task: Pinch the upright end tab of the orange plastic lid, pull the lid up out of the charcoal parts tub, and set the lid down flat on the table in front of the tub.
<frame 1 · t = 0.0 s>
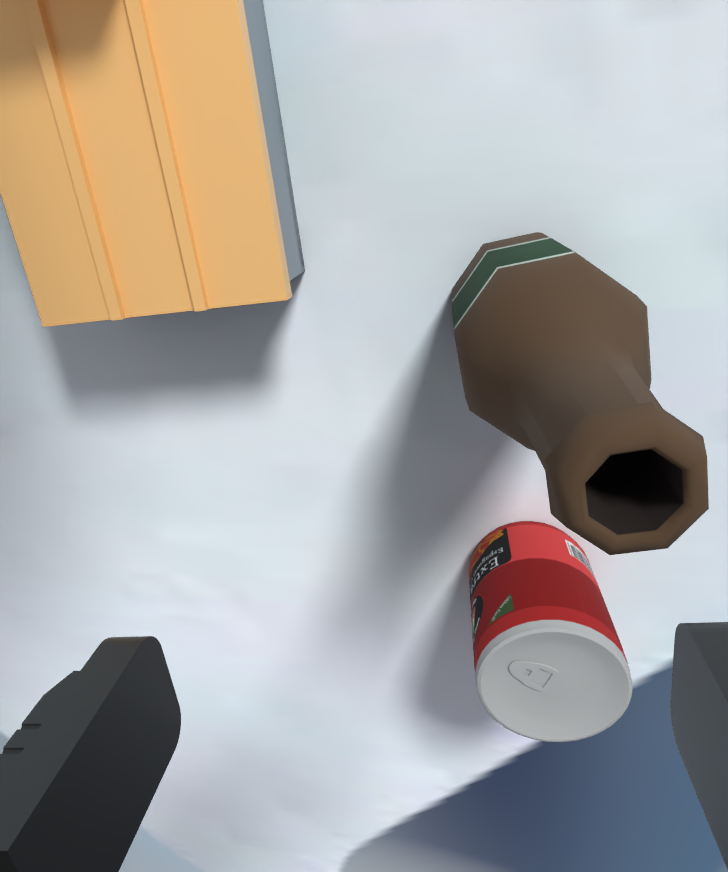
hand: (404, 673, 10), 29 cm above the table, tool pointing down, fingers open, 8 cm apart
lid: (139, 129, 31), point 4 cm above the table, touching tub
tub: (175, 134, 35), on the table
canned food: (526, 565, 43), on the table
beer bottle: (517, 299, 36), on the table
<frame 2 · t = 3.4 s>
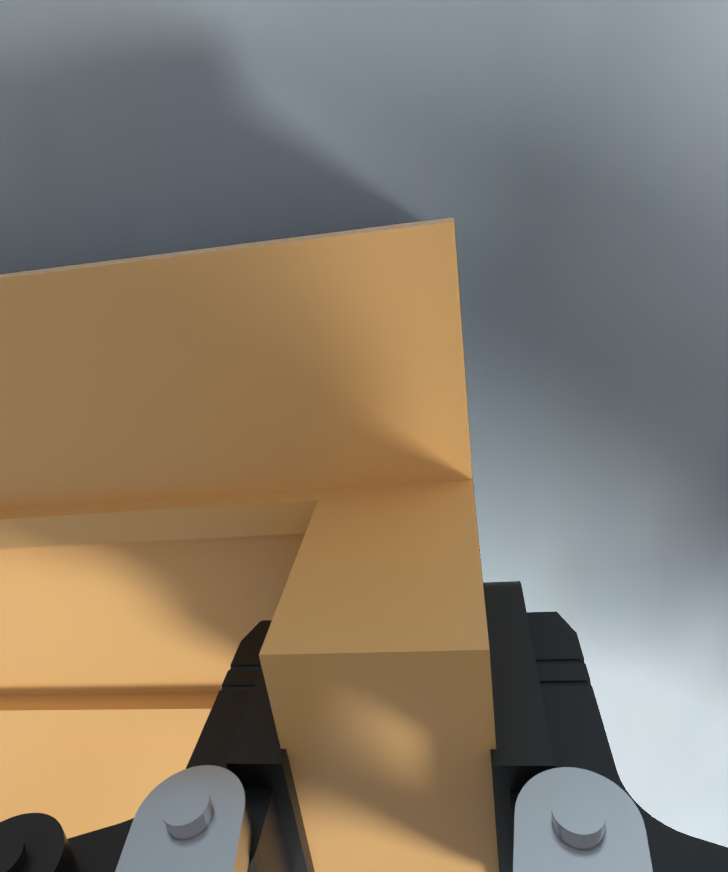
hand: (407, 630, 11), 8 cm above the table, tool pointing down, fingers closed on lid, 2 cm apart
lid: (106, 551, 15), point 4 cm above the table, touching gripper, tub
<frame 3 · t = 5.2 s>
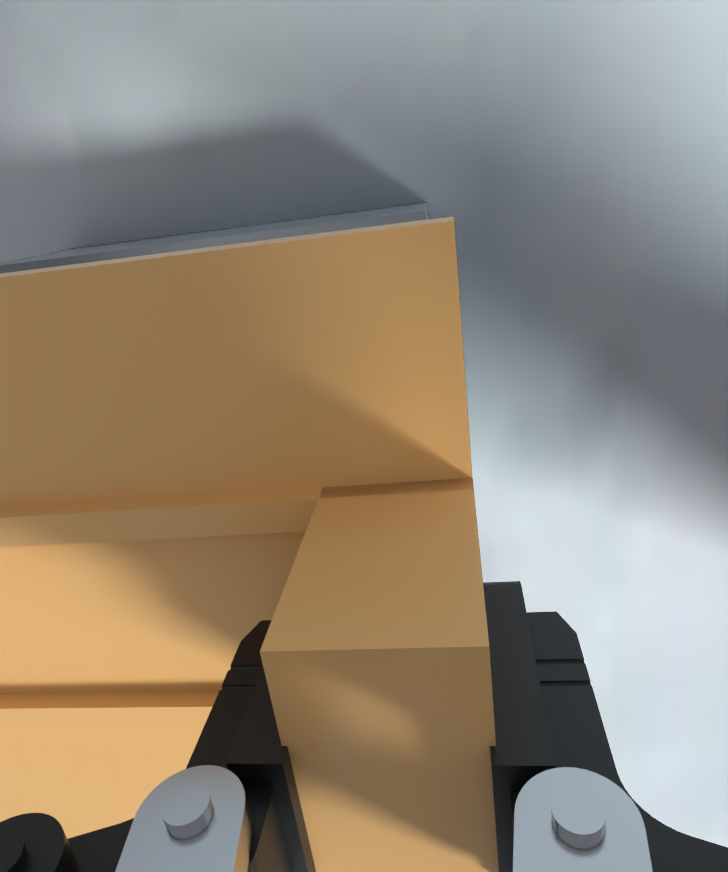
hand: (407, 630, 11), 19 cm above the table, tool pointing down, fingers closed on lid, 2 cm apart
lid: (107, 550, 15), point 16 cm above the table, touching gripper
tub: (266, 360, 29), on the table
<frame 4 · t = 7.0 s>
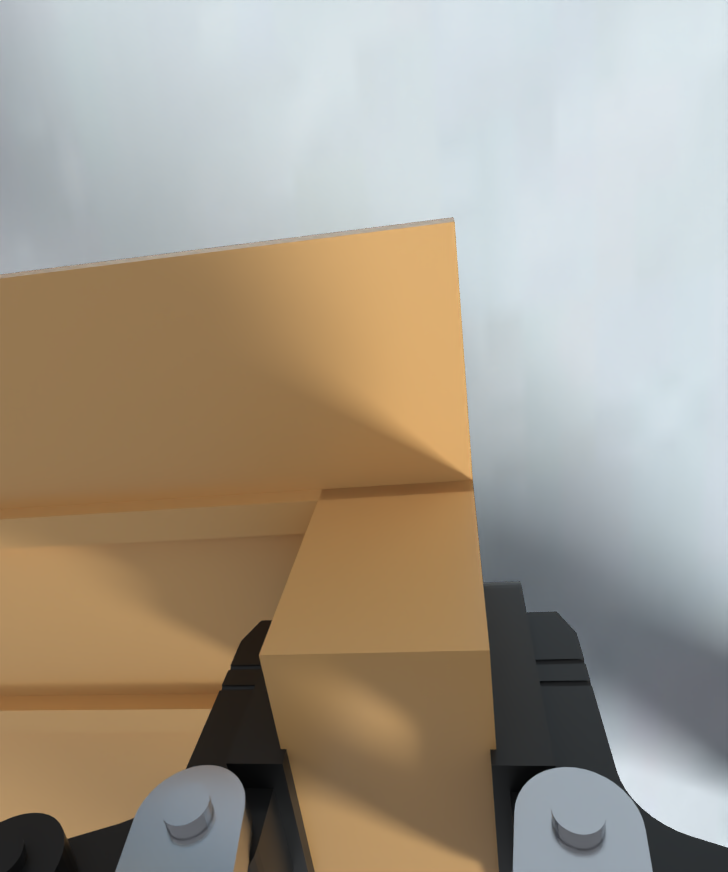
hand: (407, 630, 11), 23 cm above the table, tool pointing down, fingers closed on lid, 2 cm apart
lid: (106, 551, 15), point 20 cm above the table, touching gripper
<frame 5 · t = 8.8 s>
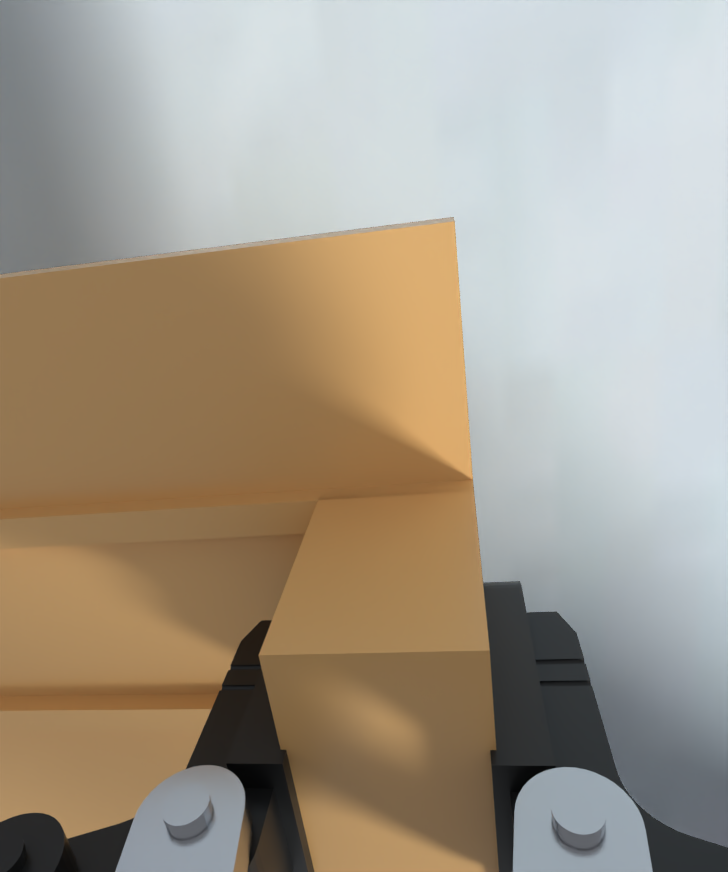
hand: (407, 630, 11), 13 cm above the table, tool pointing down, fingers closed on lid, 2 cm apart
lid: (106, 551, 15), point 10 cm above the table, touching gripper
when the fingers open (5 cm above the table, at t = 10.6 s): lid drops 2 cm, on the table.
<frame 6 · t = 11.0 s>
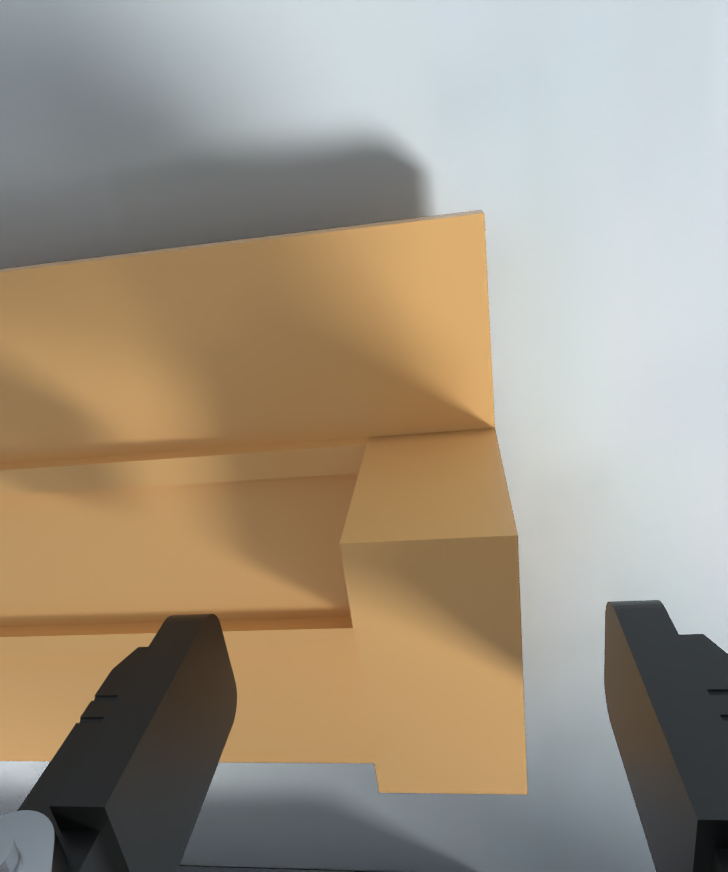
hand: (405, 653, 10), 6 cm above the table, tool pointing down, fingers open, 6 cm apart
lid: (167, 503, 17), on the table
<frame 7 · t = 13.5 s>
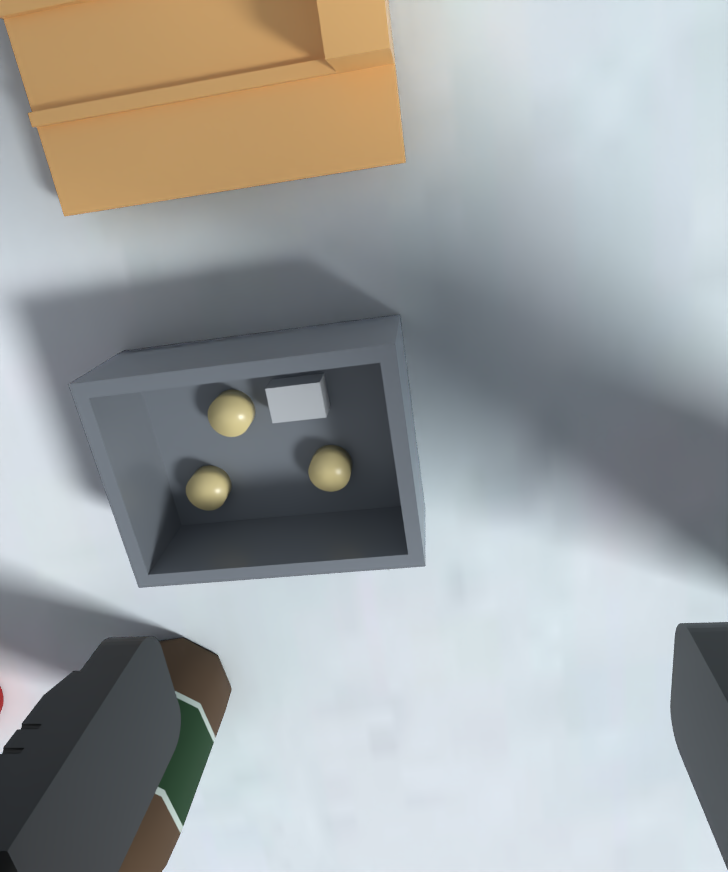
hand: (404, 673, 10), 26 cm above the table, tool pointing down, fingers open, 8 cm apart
lid: (212, 43, 30), on the table
tub: (278, 432, 37), on the table
beer bottle: (182, 674, 46), on the table
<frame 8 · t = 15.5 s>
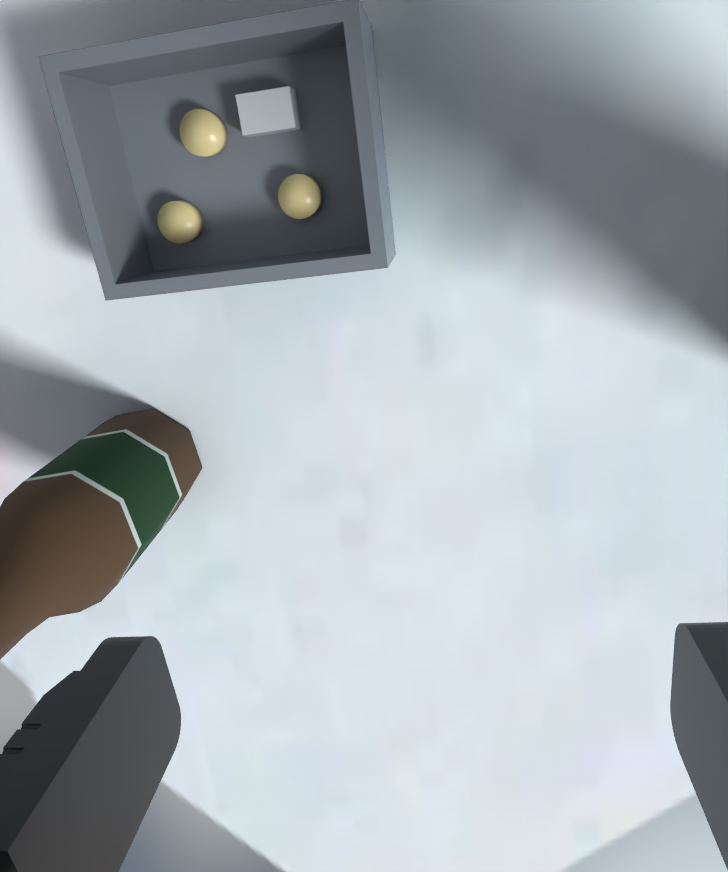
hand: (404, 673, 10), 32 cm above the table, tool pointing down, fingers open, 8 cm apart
tub: (251, 166, 38), on the table
beer bottle: (154, 453, 46), on the table
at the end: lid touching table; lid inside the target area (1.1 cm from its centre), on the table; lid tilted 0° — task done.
